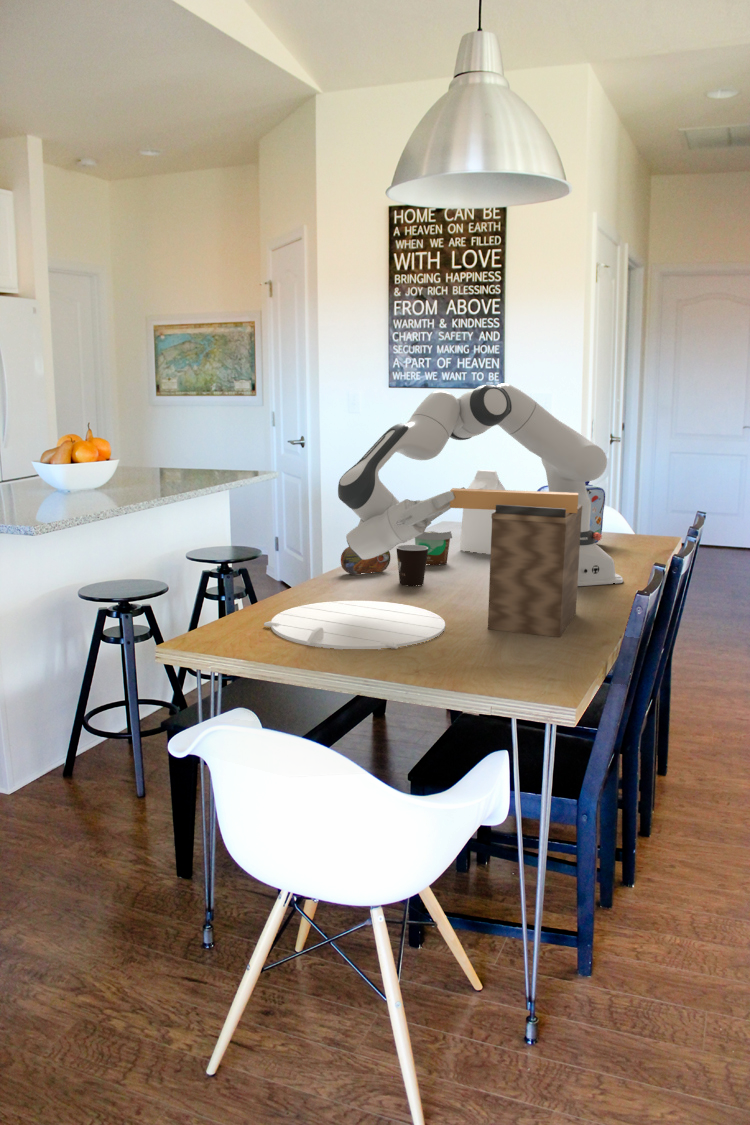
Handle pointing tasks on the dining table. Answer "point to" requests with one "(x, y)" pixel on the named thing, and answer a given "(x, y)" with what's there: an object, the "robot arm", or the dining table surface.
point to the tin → (363, 562)
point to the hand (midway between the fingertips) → (459, 492)
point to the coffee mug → (411, 564)
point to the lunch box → (592, 506)
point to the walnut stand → (533, 569)
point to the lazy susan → (357, 625)
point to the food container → (435, 546)
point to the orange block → (513, 499)
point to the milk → (479, 516)
